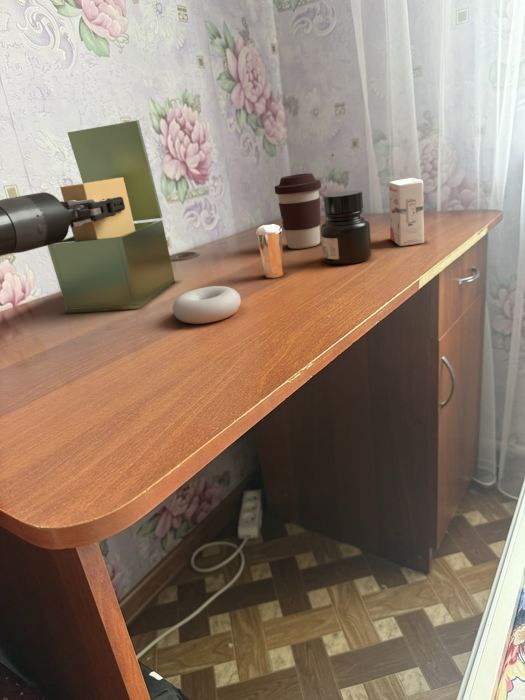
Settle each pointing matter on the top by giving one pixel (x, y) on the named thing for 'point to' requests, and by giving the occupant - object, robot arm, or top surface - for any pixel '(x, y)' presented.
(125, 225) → the tan block
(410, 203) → the ink box
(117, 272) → the bin
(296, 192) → the coffee cup
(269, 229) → the milkshake
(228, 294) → the donut
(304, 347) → the top surface
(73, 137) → the bin lid
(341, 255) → the ink bottle
